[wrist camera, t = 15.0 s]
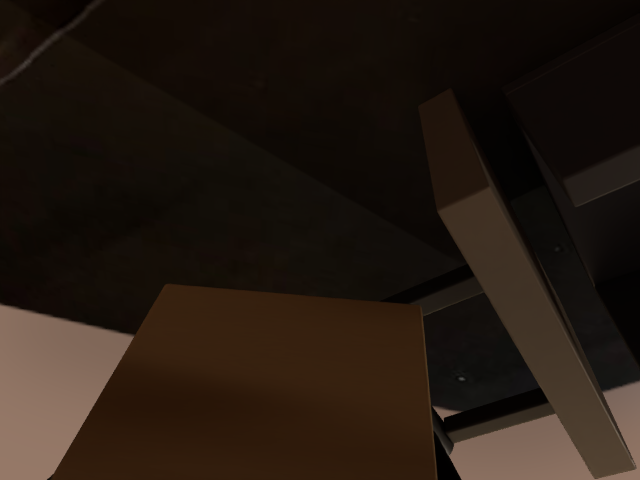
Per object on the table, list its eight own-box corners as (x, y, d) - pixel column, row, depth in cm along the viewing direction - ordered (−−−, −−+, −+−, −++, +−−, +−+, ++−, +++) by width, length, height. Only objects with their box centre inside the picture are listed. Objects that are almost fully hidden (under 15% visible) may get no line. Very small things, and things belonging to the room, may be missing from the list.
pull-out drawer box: (430, 355, 23) (447, 515, 17) (301, 170, 19) (262, 292, 13) (910, 180, 17) (1212, 332, 11) (875, -151, 13) (1331, -213, 7)
